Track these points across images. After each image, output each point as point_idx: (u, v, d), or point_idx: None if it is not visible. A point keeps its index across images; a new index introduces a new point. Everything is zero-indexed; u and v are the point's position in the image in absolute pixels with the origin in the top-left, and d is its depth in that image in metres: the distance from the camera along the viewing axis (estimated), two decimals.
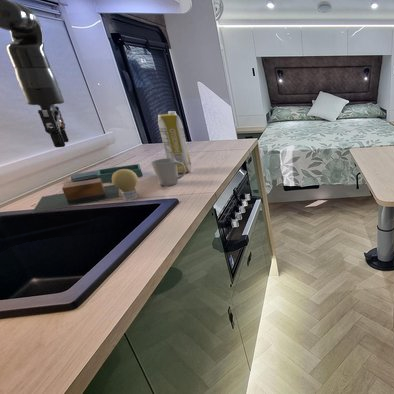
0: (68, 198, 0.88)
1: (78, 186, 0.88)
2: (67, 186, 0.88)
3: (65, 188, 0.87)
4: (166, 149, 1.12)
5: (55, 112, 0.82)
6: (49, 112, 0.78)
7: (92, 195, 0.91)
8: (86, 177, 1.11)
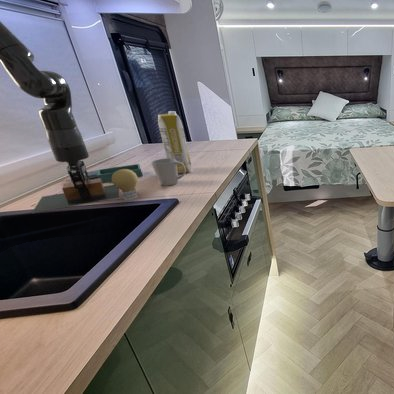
0: (68, 198, 0.88)
1: None
2: (67, 186, 0.88)
3: (65, 188, 0.87)
4: (166, 149, 1.12)
5: (81, 167, 0.88)
6: (78, 173, 0.84)
7: (92, 195, 0.91)
8: None
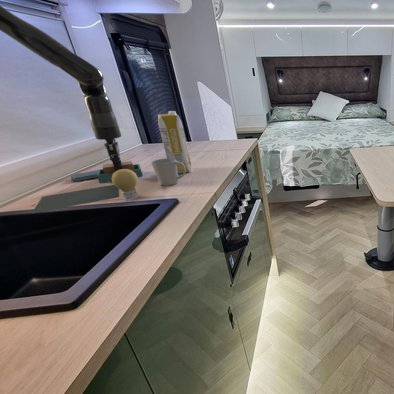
0: None
1: None
2: (106, 166, 1.08)
3: (105, 168, 1.07)
4: (166, 149, 1.12)
5: (115, 144, 1.07)
6: (113, 146, 1.03)
7: None
8: (86, 177, 1.11)
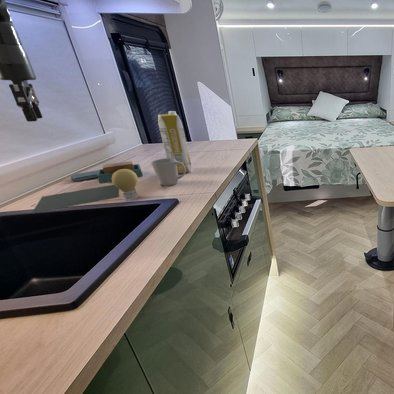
0: None
1: (115, 166, 1.09)
2: (106, 166, 1.08)
3: (105, 168, 1.07)
4: (166, 149, 1.12)
5: (27, 88, 0.86)
6: (20, 86, 0.82)
7: None
8: (86, 177, 1.11)
